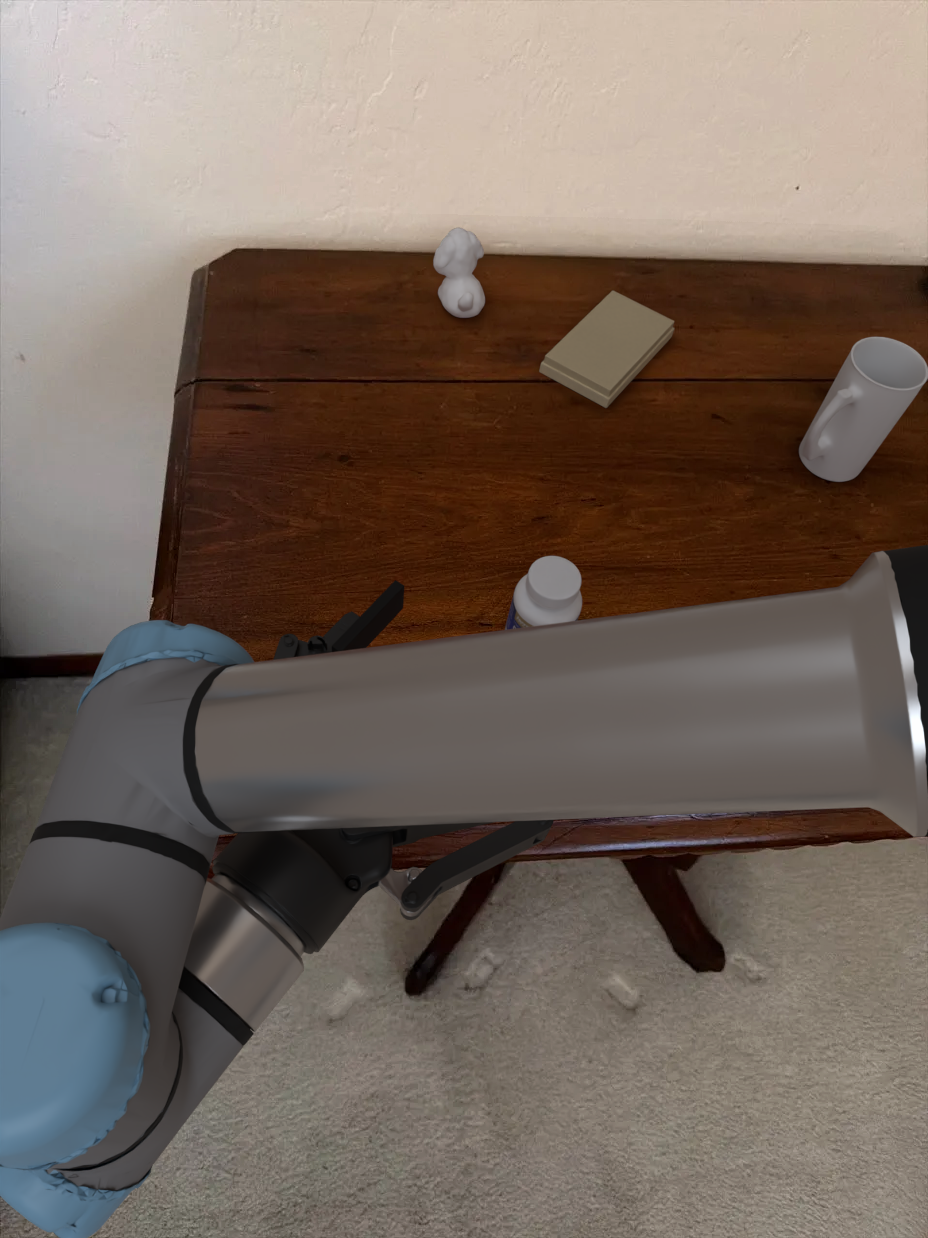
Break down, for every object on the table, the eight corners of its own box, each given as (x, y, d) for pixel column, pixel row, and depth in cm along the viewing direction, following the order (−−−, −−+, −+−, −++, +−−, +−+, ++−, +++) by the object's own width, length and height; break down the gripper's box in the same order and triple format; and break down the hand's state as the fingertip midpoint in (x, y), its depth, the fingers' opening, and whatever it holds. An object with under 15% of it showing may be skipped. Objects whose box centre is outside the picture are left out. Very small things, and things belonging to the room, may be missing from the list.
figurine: (464, 278, 96) (471, 210, 90) (499, 322, 93) (509, 255, 86) (420, 289, 95) (424, 221, 88) (454, 335, 91) (461, 267, 84)
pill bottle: (497, 658, 71) (511, 596, 63) (510, 606, 73) (526, 540, 66) (561, 674, 70) (583, 614, 63) (572, 621, 73) (595, 557, 66)
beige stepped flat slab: (671, 337, 94) (677, 320, 92) (606, 408, 87) (611, 392, 85) (607, 304, 96) (612, 288, 94) (538, 371, 89) (542, 355, 87)
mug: (828, 424, 89) (886, 327, 79) (878, 468, 86) (945, 373, 76) (757, 461, 85) (808, 363, 75) (807, 507, 82) (867, 413, 72)
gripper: (109, 805, 53) (335, 582, 64) (440, 1075, 47) (631, 780, 57) (75, 755, 47) (332, 516, 57) (451, 1058, 41) (664, 730, 51)
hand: (482, 647), depth 57 cm, fingers open, 13 cm apart
